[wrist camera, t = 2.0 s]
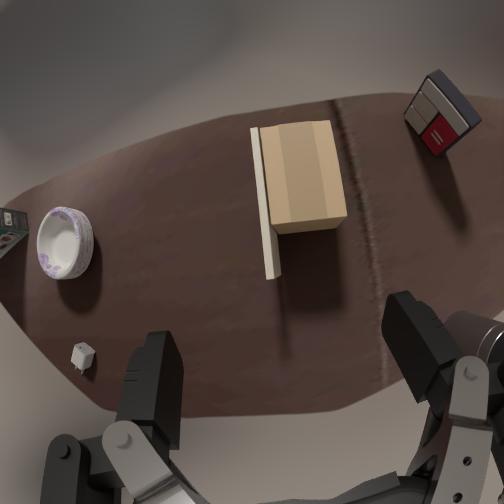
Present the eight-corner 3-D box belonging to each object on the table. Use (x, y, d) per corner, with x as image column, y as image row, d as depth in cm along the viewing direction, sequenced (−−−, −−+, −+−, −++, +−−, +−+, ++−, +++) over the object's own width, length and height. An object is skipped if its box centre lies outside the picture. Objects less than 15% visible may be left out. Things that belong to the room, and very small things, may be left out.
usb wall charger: (96, 351, 57) (85, 355, 53) (89, 374, 57) (79, 378, 53) (84, 342, 58) (73, 345, 54) (78, 364, 58) (68, 368, 54)
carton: (336, 228, 50) (347, 216, 37) (279, 234, 51) (271, 224, 38) (324, 152, 51) (329, 119, 38) (270, 158, 52) (259, 127, 39)
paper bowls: (54, 269, 60) (31, 269, 52) (65, 207, 60) (42, 202, 52) (96, 286, 57) (73, 288, 50) (109, 217, 58) (86, 211, 50)
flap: (281, 275, 50) (274, 278, 38) (274, 275, 51) (265, 279, 38) (268, 158, 52) (257, 127, 39) (261, 159, 52) (249, 128, 39)
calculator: (400, 116, 48) (424, 75, 33) (413, 107, 48) (439, 67, 33) (435, 160, 47) (470, 130, 32) (447, 150, 46) (483, 119, 32)
